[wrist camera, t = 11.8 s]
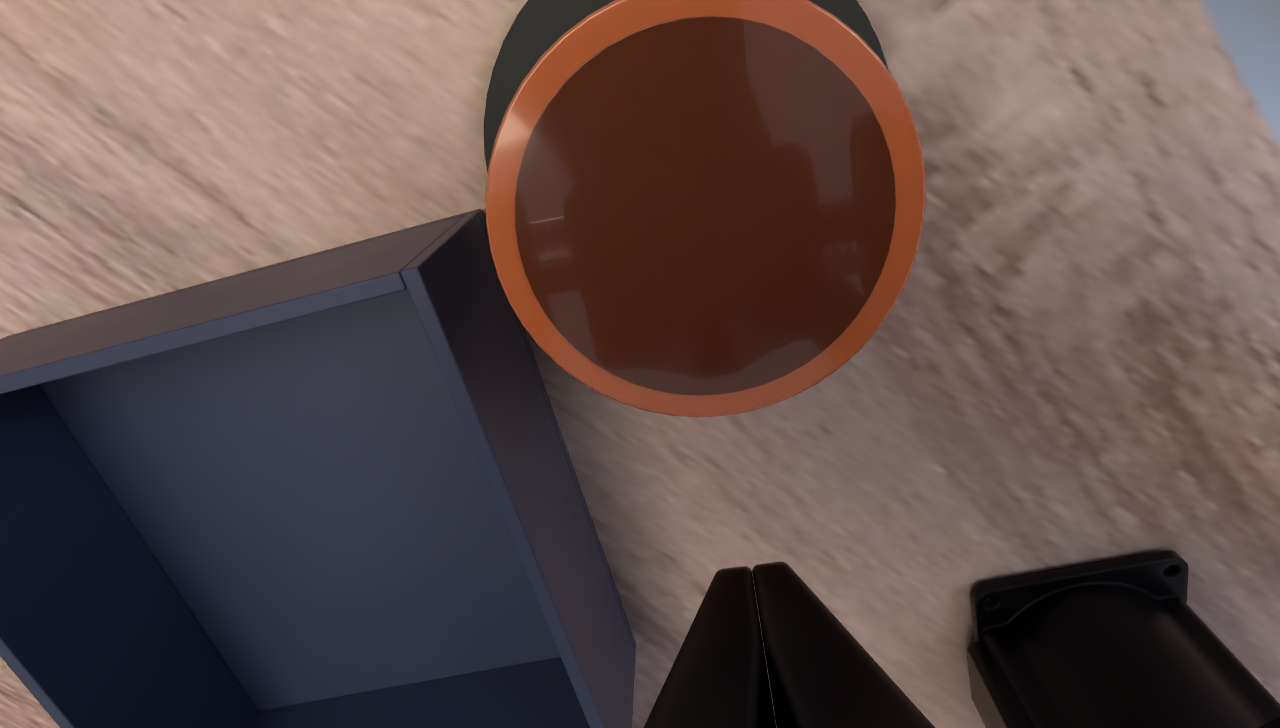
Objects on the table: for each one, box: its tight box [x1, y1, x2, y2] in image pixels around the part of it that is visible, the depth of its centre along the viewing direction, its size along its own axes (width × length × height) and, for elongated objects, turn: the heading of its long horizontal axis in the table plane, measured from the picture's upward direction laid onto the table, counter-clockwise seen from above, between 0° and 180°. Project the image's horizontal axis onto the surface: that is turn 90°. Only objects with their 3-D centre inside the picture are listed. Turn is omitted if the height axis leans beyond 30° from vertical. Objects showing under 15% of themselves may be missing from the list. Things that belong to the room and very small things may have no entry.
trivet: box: [484, 0, 888, 172], centre depth 18 cm, size 10×10×1 cm
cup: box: [486, 0, 926, 417], centre depth 14 cm, size 6×6×8 cm
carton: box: [0, 209, 636, 728], centre depth 21 cm, size 16×15×5 cm
